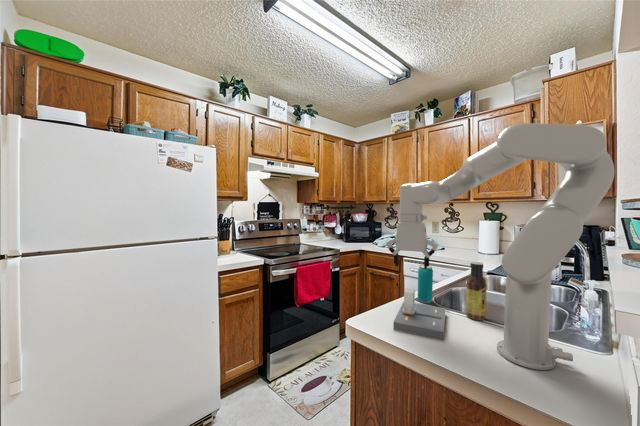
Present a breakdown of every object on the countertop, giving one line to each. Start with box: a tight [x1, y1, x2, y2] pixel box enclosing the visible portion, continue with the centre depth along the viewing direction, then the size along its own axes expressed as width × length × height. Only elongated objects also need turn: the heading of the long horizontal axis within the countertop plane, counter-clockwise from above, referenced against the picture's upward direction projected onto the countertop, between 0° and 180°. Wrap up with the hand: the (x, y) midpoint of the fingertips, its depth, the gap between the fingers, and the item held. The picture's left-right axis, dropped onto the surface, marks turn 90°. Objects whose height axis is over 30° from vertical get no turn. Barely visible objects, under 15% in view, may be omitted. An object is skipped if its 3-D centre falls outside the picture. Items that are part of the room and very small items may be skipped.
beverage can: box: [417, 264, 434, 304], centre depth 110 cm, size 6×6×15 cm
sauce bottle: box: [465, 261, 487, 321], centre depth 95 cm, size 6×6×20 cm
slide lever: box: [402, 287, 416, 315], centre depth 93 cm, size 4×5×8 cm
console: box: [393, 301, 446, 341], centre depth 92 cm, size 15×20×3 cm
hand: (411, 267), depth 92 cm, fingers open, 9 cm apart
